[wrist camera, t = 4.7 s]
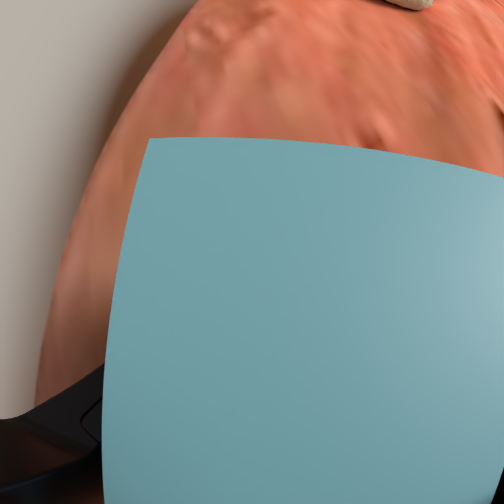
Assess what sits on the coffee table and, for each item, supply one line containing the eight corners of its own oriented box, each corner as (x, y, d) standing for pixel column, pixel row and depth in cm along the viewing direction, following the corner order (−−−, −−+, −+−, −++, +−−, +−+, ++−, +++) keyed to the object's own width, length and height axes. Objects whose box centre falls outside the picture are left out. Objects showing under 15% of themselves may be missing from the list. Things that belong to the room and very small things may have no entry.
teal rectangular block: (332, 415, 13) (456, 570, 2) (229, 407, 14) (113, 566, 2) (344, 293, 15) (508, 173, 3) (242, 285, 15) (151, 132, 4)
